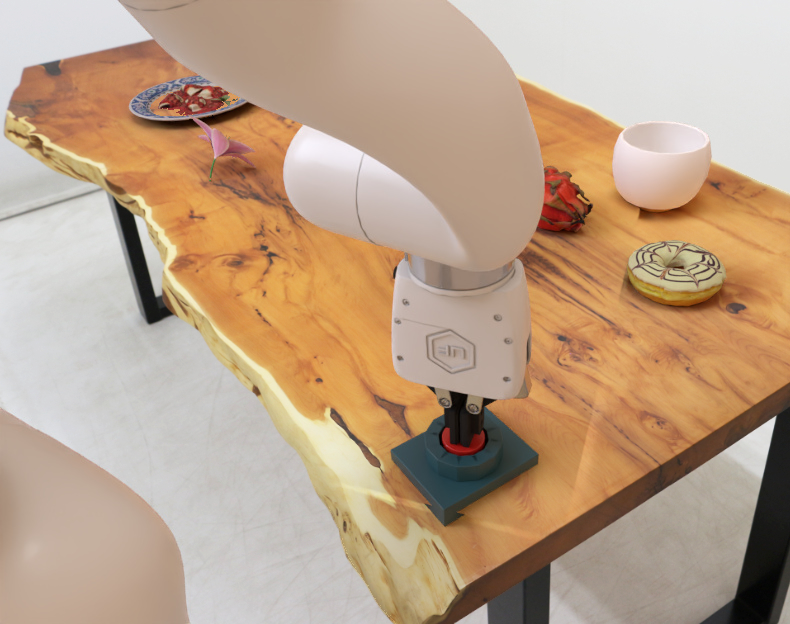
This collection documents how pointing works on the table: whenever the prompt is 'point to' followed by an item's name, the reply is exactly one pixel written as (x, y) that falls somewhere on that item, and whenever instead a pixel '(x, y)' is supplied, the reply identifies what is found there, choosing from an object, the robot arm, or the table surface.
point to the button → (458, 449)
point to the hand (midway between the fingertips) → (464, 433)
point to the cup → (660, 164)
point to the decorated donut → (675, 272)
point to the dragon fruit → (562, 202)
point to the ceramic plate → (184, 99)
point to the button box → (462, 466)
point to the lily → (223, 144)
